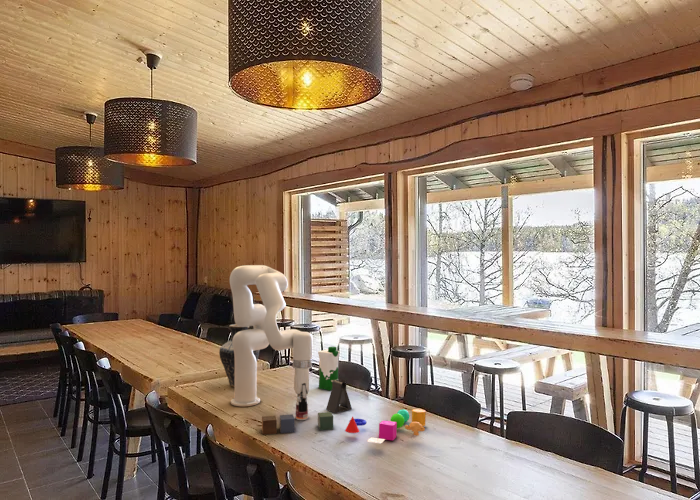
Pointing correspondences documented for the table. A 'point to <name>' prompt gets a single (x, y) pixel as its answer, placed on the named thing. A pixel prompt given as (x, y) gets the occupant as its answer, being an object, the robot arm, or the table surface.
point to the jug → (232, 354)
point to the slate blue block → (287, 423)
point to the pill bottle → (301, 414)
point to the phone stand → (338, 398)
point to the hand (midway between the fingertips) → (301, 408)
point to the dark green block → (325, 421)
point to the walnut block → (269, 425)
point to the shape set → (392, 425)
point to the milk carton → (328, 367)
